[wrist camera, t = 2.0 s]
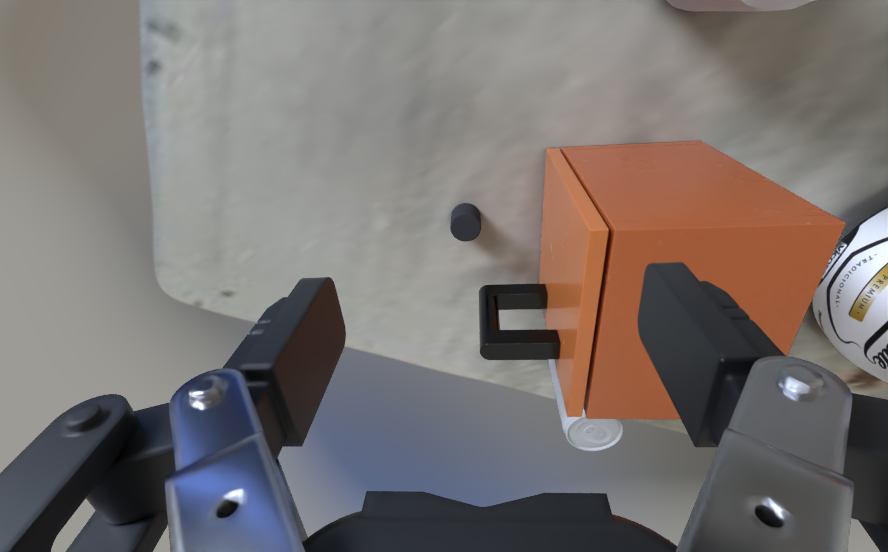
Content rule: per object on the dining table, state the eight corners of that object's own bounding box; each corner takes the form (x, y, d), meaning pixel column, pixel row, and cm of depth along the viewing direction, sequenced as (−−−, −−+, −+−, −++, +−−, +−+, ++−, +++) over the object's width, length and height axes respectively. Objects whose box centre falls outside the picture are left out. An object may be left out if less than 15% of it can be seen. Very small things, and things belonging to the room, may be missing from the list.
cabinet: (550, 289, 43) (586, 419, 29) (561, 146, 36) (615, 230, 22) (666, 287, 42) (758, 419, 29) (701, 140, 35) (846, 222, 21)
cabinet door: (479, 292, 44) (481, 417, 30) (475, 151, 36) (476, 233, 23) (548, 290, 43) (582, 417, 30) (558, 147, 36) (609, 229, 22)
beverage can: (566, 313, 44) (594, 404, 34) (600, 336, 46) (637, 430, 35) (534, 342, 47) (552, 436, 36) (568, 363, 48) (594, 459, 38)
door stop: (446, 221, 40) (445, 233, 38) (459, 198, 39) (459, 209, 37) (471, 234, 40) (471, 246, 38) (485, 210, 39) (486, 222, 37)
